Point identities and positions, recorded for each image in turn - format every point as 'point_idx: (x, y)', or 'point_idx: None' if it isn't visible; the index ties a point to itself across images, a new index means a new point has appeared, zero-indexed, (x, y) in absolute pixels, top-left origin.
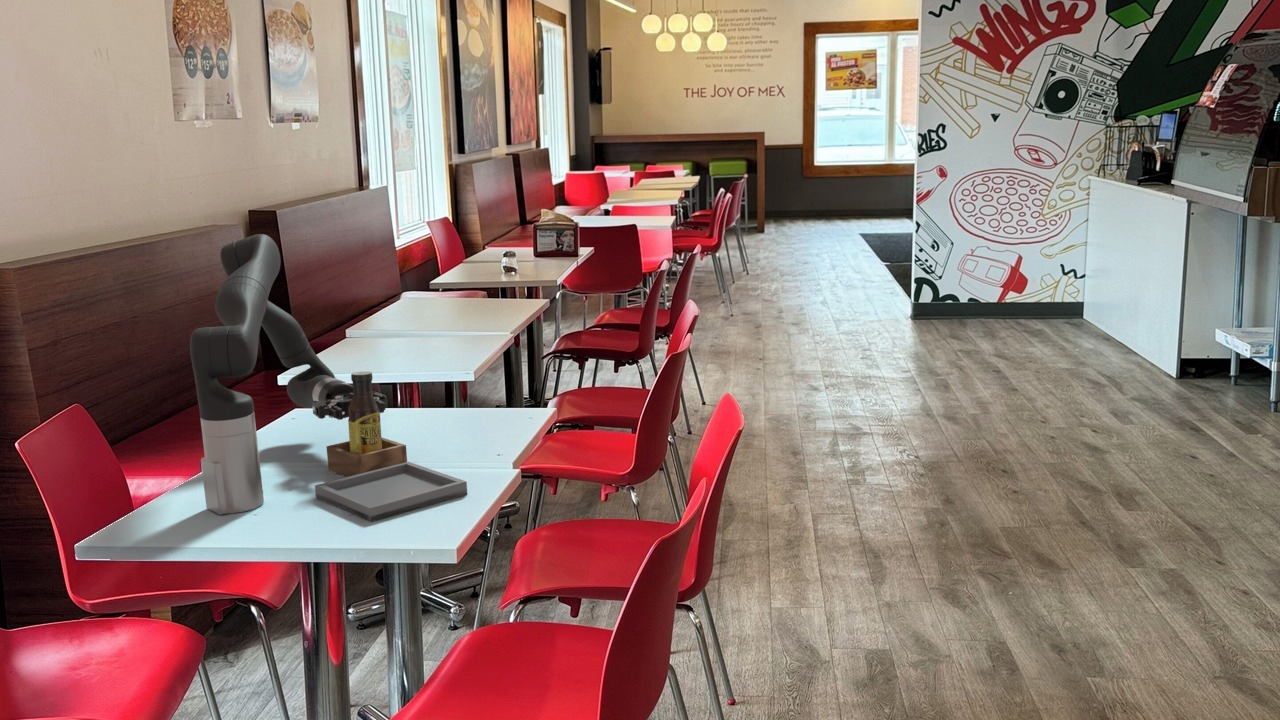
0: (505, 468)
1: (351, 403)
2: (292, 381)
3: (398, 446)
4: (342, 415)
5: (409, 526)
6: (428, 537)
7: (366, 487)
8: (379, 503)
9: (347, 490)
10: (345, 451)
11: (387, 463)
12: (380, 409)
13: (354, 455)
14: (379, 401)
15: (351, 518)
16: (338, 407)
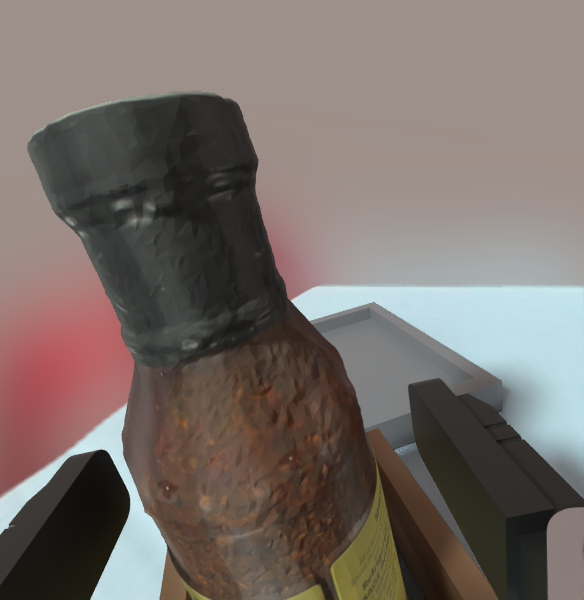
0: (69, 455)
1: (323, 351)
2: None
3: None
4: (411, 417)
5: (335, 311)
6: (325, 297)
7: (370, 400)
8: (359, 309)
9: None
10: (427, 523)
11: None
12: (121, 486)
13: (384, 447)
14: (60, 483)
15: None
16: (445, 423)
